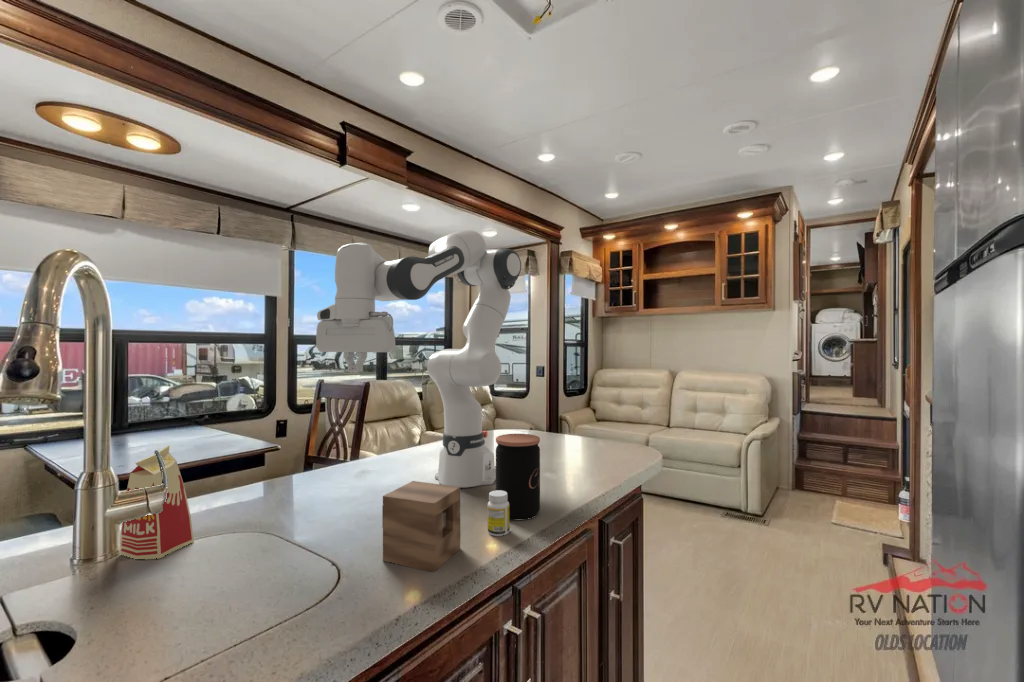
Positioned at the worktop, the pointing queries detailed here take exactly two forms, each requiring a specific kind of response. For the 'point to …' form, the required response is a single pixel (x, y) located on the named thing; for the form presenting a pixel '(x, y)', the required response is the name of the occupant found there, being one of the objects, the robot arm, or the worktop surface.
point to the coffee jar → (519, 473)
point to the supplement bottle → (498, 513)
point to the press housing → (421, 525)
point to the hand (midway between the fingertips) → (355, 371)
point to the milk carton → (167, 527)
